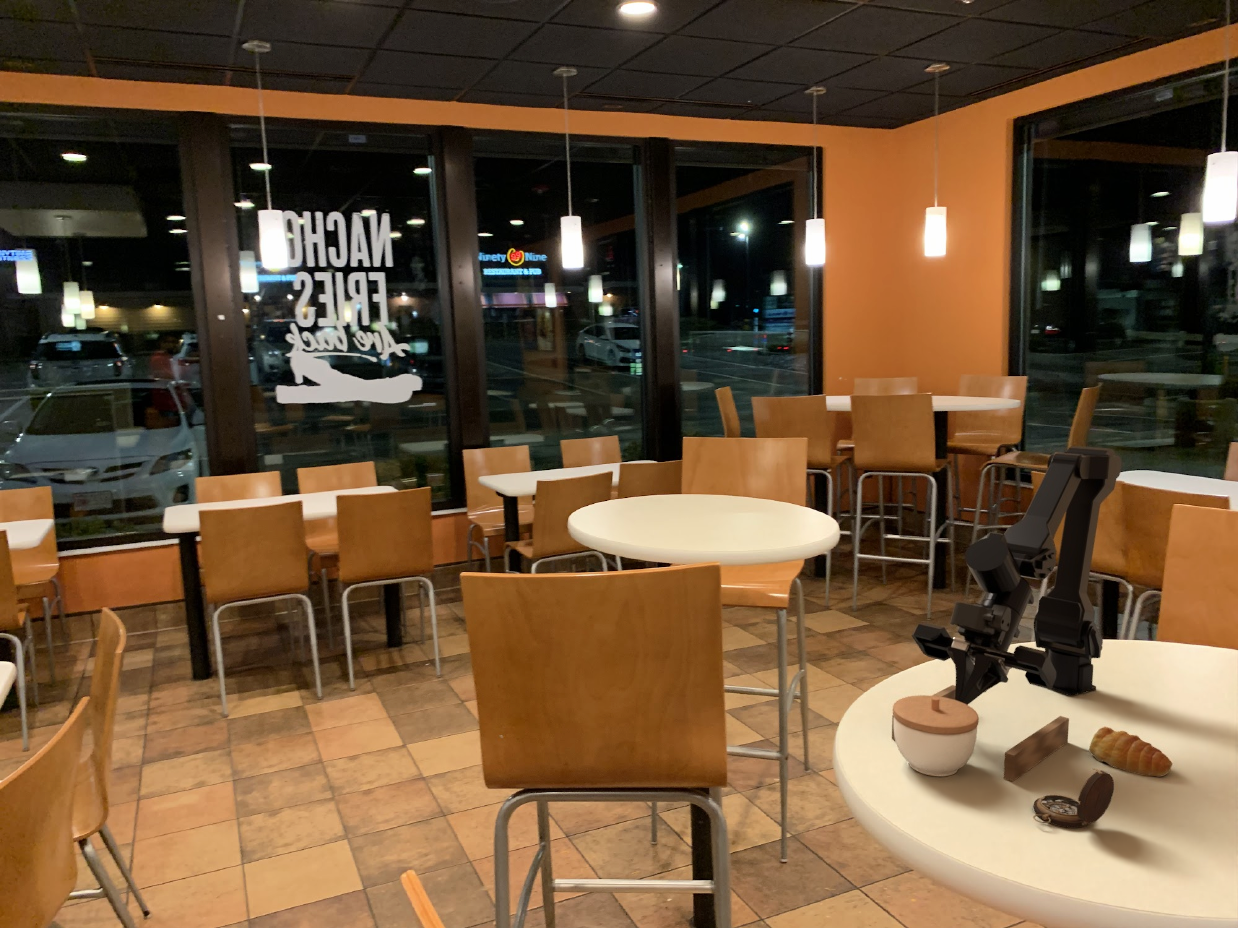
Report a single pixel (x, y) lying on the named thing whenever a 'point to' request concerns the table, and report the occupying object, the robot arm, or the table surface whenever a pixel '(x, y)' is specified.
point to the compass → (1077, 803)
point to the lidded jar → (934, 733)
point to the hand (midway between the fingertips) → (958, 706)
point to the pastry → (1129, 753)
